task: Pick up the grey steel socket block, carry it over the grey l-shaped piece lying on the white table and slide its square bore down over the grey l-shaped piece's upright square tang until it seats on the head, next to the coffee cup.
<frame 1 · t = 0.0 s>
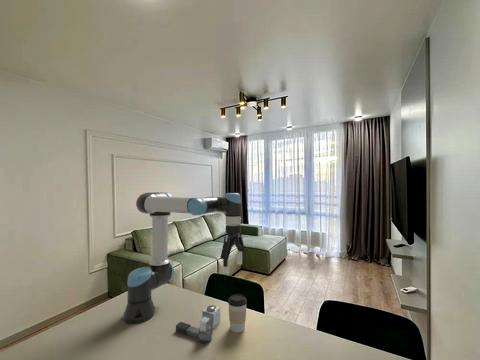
hand: (233, 268, 110), 28 cm above the table, fingers open, 13 cm apart
socket: (211, 323, 112), on the table
coffee cup: (237, 328, 108), on the table
grey l-shaped piece: (205, 339, 101), on the table
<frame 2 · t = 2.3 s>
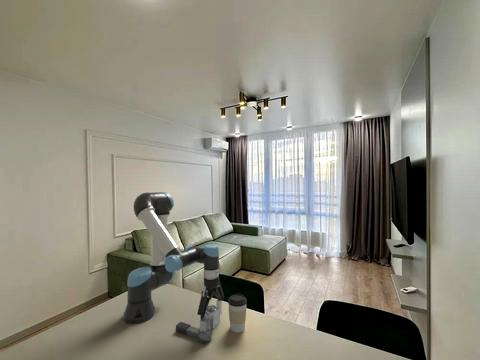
hand: (211, 320, 112), 2 cm above the table, fingers open, 13 cm apart
nothing on the table moved.
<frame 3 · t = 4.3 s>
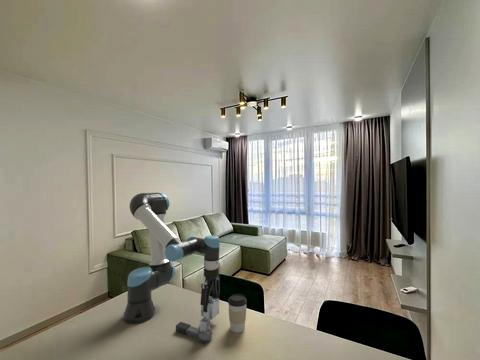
hand: (210, 313, 113), 4 cm above the table, fingers closed on socket, 6 cm apart
socket: (210, 314, 113), point 4 cm above the table, touching gripper
everything else where it was.
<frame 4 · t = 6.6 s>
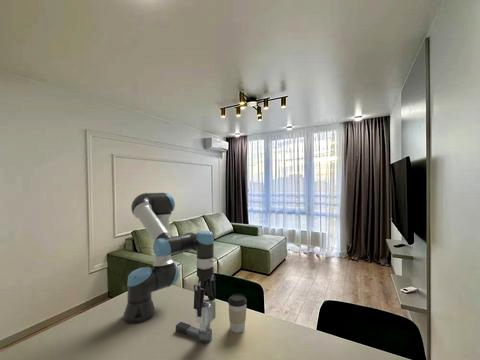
hand: (205, 318, 101), 9 cm above the table, fingers closed on socket, 6 cm apart
socket: (205, 319, 101), point 9 cm above the table, touching gripper
everything else where it was.
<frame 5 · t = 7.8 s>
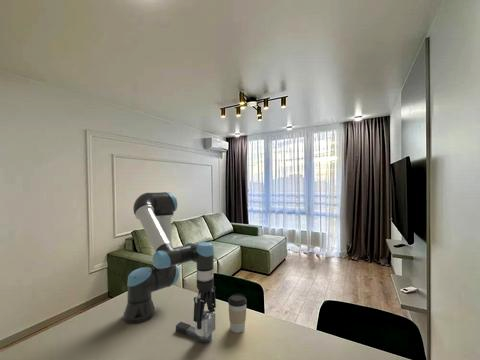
hand: (205, 330, 101), 4 cm above the table, fingers closed on socket, 6 cm apart
socket: (205, 331, 101), point 3 cm above the table, touching gripper, grey l-shaped piece
everything else where it was.
when the fingers open (4 cm above the table, at t = 8.8 s): socket stays where it is, resting on grey l-shaped piece.
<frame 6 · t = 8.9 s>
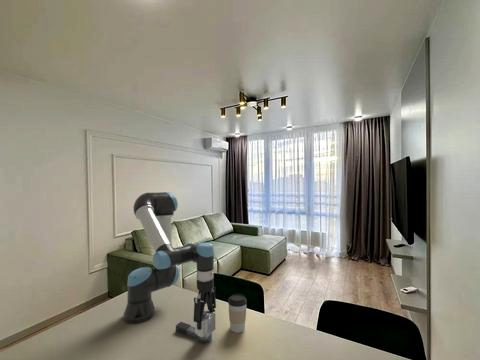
hand: (205, 331, 101), 4 cm above the table, fingers open, 6 cm apart
socket: (205, 331, 101), point 3 cm above the table, touching grey l-shaped piece
everything else where it was.
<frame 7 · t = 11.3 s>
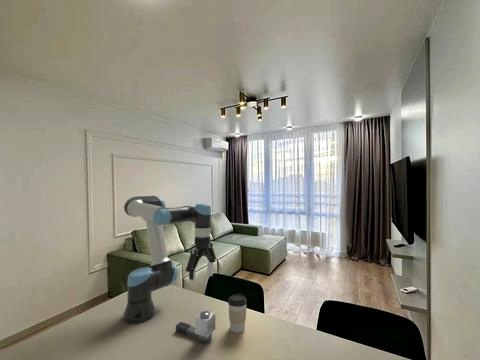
hand: (201, 280, 109), 23 cm above the table, fingers open, 13 cm apart
nothing on the table moved.
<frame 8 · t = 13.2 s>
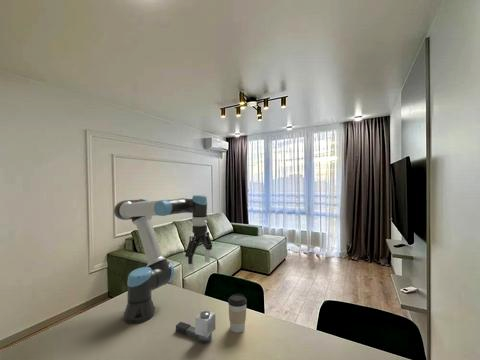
hand: (199, 265, 117), 27 cm above the table, fingers open, 13 cm apart
nothing on the table moved.
at the end: socket 0.1 cm off-centre on the grey l-shaped piece, point 3.5 cm above the grey l-shaped piece's base; the gripper is holding nothing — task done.
